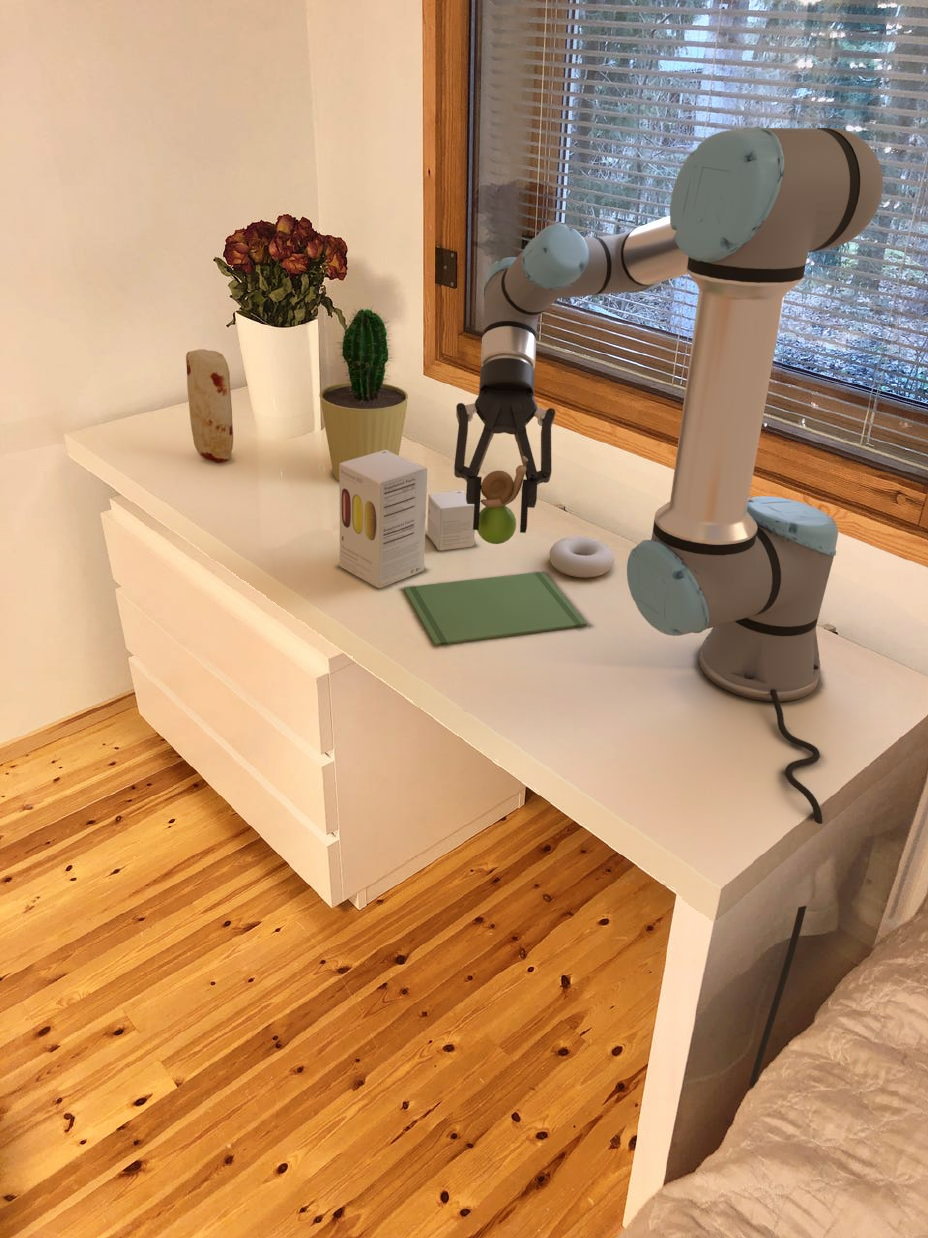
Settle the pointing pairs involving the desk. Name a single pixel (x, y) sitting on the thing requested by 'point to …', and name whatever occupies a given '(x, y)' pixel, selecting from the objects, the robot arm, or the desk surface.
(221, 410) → the food model
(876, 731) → the desk surface
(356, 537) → the supplement box
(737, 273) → the robot arm
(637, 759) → the desk surface
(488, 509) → the snail figurine
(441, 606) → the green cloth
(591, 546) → the donut
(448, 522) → the product box
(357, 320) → the potted cactus
